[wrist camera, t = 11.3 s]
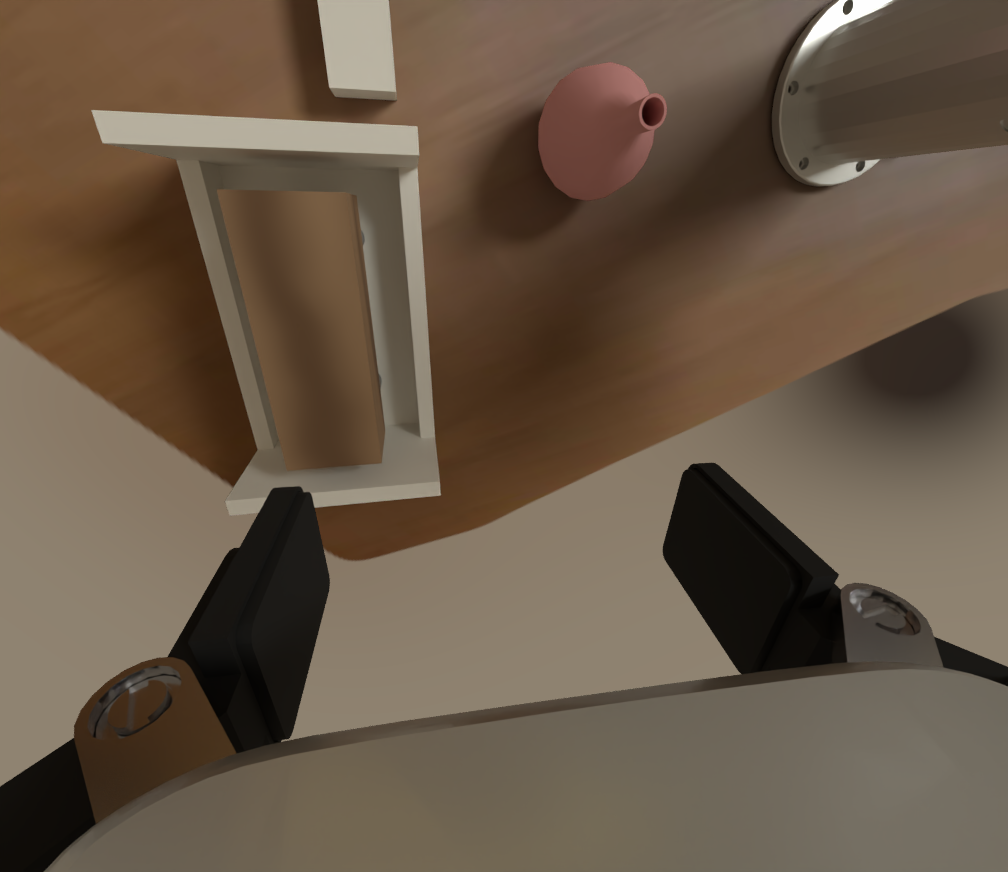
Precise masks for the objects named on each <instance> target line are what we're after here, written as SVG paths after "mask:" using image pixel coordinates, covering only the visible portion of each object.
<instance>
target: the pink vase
mask: <svg viewBox="0 0 1008 872" xmlns="http://www.w3.org/2000/svg"><path fill="white" fill-rule="evenodd" d="M666 113H667V105H666V102H665V99H664V98H663V97H662V96H661V95H660V94H657V93H653V94H649V92H648V90H647V88H646V86H645V84H644V82H643V80H642V79H641V78H640V77H638V76H637V75H636V74H635V73H634V72H633V71H632V70H631V69H630V68H629V67H625V66H622V65H618V64H615V63H612V62H609V63H603V64H598V65H592V66H587V67H582V68H577V69H576V70H574V71H573V72H572V73H570V74H569V75H567V76H566V77H564V78H563V79H562V80H560V81H559V83H558V84H557V85H556V87H555V88H554V90H553V91H552V93H551V94H550V95H549V97H548V98H547V100H546V102H545V106H544V109H543V112H542V115H541V118H540V122H539V137H538V149H539V153H540V157H541V160H542V164H543V168H544V170H545V172H546V173H547V175H548V176H549V178H550V179H551V181H552V182H553V184H554V185H555V187H557V188H558V189H559V190H561V191H562V192H564V193H565V194H566V195H568V196H569V197H571V198H575V199H580V200H585V201H591V200H595V199H600V198H605V197H607V196H608V195H610V194H611V193H613V192H615V191H616V190H618V189H619V188H621V187H622V186H624V185H625V184H627V183H628V182H630V181H631V180H632V179H633V178H634V177H635V176H636V174H637V173H638V172H639V171H640V169H641V168H642V167H643V165H644V164H645V162H646V159H647V157H648V155H649V152H650V150H651V147H652V145H653V139H654V131H655V129H656V128H658V127H659V126H660V125H661V124H662V123H663V122H664V119H665V117H666Z"/></svg>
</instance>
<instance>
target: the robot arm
mask: <svg viewBox="0 0 1008 872" xmlns="http://www.w3.org/2000/svg"><path fill="white" fill-rule="evenodd" d="M772 135H773V141H774V147H775V150H776V153H777V155H778V158H779V161H780V162H781V164H782V165H783V167H784V168H785V170H786V171H787V172H788V173H789V174H790V175H791V176H792V177H793V178H794V179H795V180H797V181H799V182H801V183H803V184H805V185H811V186H817V187H819V186H833V185H838V184H843V183H846V182H848V181H850V180H852V179H855V178H857V177H858V176H860V175H862V174H863V173H865V172H866V171H868V170H869V169H870V168H872V167H873V166H874V165H875V164H876V163H877V162H878V161H879V160H881V159H886V158H895V157H903V156H912V155H921V154H930V153H939V152H948V151H956V150H965V149H974V148H983V147H992V146H1001V145H1008V0H834V1H833V2H831V3H830V4H829V5H827V6H826V7H825V8H824V9H823V10H821V11H820V12H819V13H818V14H817V15H816V16H815V17H814V18H813V19H812V20H811V22H810V23H809V24H808V25H807V27H806V28H805V29H804V31H803V32H802V33H801V35H800V36H799V37H798V39H797V41H796V43H795V44H794V46H793V48H792V50H791V51H790V53H789V55H788V57H787V59H786V62H785V64H784V67H783V69H782V72H781V74H780V77H779V80H778V84H777V88H776V91H775V95H774V102H773V110H772ZM663 556H664V559H665V560H666V562H667V564H668V565H669V567H670V568H671V570H672V571H673V573H674V574H675V576H676V578H677V579H678V580H679V582H680V584H681V585H682V587H683V588H684V590H685V591H686V593H687V594H688V596H689V597H690V599H691V600H692V602H693V603H694V605H695V606H696V608H697V609H698V611H699V612H700V614H701V615H702V617H703V618H704V620H705V621H706V623H707V624H708V626H709V627H710V629H711V630H712V632H713V633H714V635H715V637H716V638H717V640H718V641H719V642H720V644H721V646H722V647H723V649H724V650H725V652H726V653H727V655H728V656H729V658H730V659H731V661H732V662H733V664H734V665H735V667H736V668H737V670H738V671H739V672H740V673H741V675H733V676H726V677H718V678H711V679H703V680H695V681H688V682H680V683H672V684H665V685H658V686H651V687H643V688H635V689H628V690H621V691H613V692H606V693H599V694H592V695H584V696H578V697H570V698H563V699H555V700H548V701H541V702H534V703H526V704H520V705H512V706H506V707H498V708H492V709H485V710H477V711H471V712H463V713H457V714H450V715H443V716H436V717H429V718H422V719H415V720H408V721H401V722H395V723H389V724H382V725H376V726H369V727H364V728H357V729H351V730H345V731H338V732H332V733H326V734H320V735H313V736H308V737H304V738H299V739H294V740H290V741H284V742H281V740H284V739H289V738H290V736H291V734H292V732H293V729H294V725H295V721H296V717H297V713H298V709H299V705H300V701H301V698H302V694H303V690H304V685H305V682H306V678H307V674H308V670H309V666H310V663H311V659H312V655H313V651H314V647H315V643H316V639H317V635H318V631H319V627H320V623H321V619H322V615H323V612H324V608H325V604H326V600H327V596H328V592H329V586H330V585H329V584H330V579H329V573H328V568H327V563H326V559H325V555H324V549H323V545H322V540H321V535H320V531H319V526H318V521H317V517H316V512H315V508H314V503H313V498H312V495H311V493H310V492H303V489H302V488H301V487H300V486H294V487H277V488H273V489H272V490H271V491H270V493H269V495H268V497H267V499H266V500H265V502H264V504H263V506H262V508H261V510H260V511H259V513H258V515H257V517H256V519H255V521H254V523H253V524H252V526H251V528H250V530H249V531H248V533H247V535H246V537H245V539H244V541H243V543H242V544H241V546H240V548H233V549H232V550H230V551H229V552H228V554H227V555H226V556H225V558H224V560H223V561H222V563H221V565H220V567H219V568H218V570H217V572H216V574H215V575H214V577H213V579H212V580H211V582H210V584H209V586H208V587H207V589H206V591H205V593H204V595H203V596H202V598H201V600H200V601H199V603H198V605H197V607H196V608H195V610H194V612H193V613H192V616H191V617H190V619H189V620H188V622H187V624H186V626H185V627H184V629H183V631H182V633H181V634H180V636H179V638H178V640H177V641H176V643H175V645H174V647H173V648H172V650H171V652H170V654H169V655H168V657H165V658H156V659H152V660H148V661H145V662H141V663H139V664H137V665H135V666H133V667H131V668H129V669H126V670H124V671H123V672H121V673H120V674H118V675H117V676H115V677H114V678H112V679H111V680H109V681H108V682H107V683H105V684H104V685H103V686H102V687H101V688H100V689H99V690H98V691H97V692H96V693H94V694H93V695H92V697H91V698H90V699H89V700H88V702H87V703H86V704H85V706H84V707H83V708H82V710H81V711H80V714H79V716H78V718H77V721H76V723H75V725H74V738H73V739H72V740H70V741H69V742H67V743H65V744H64V745H62V746H61V747H59V748H58V749H56V750H55V751H53V752H52V753H50V754H49V755H47V756H46V757H44V758H43V759H41V760H40V761H38V762H37V763H35V764H34V765H32V766H31V767H29V768H28V769H26V770H25V771H23V772H22V773H20V774H19V775H17V776H16V777H14V778H13V779H11V780H10V781H8V782H6V783H5V784H4V785H2V786H1V787H0V872H1008V667H1007V666H1004V665H1002V664H999V663H997V662H994V661H992V660H990V659H987V658H984V657H982V656H980V655H977V654H975V653H972V652H970V651H968V650H965V649H962V648H960V647H958V646H955V645H953V644H950V643H948V642H946V641H943V640H941V639H938V638H936V637H934V636H933V633H932V629H931V627H930V625H929V623H928V621H927V619H926V618H925V617H924V616H923V615H922V614H921V613H920V612H919V611H918V610H917V609H916V608H915V607H914V606H912V605H911V604H910V603H909V602H907V601H906V600H904V599H903V598H901V597H899V596H897V595H895V594H894V593H892V592H890V591H887V590H885V589H882V588H880V587H876V586H873V585H869V584H863V583H852V584H847V585H846V586H845V587H843V588H842V589H839V588H838V587H837V586H836V585H835V584H834V583H835V581H836V579H837V578H838V575H839V574H838V573H837V572H835V571H834V570H833V569H832V568H831V567H830V566H829V565H828V564H827V563H825V562H824V561H823V560H822V559H821V558H820V557H819V556H818V555H817V554H815V553H814V552H813V551H812V550H811V549H810V548H809V547H808V546H807V545H805V543H803V542H802V541H801V540H800V539H799V538H798V537H797V536H796V535H794V533H792V532H791V531H790V530H789V529H788V528H787V527H786V526H785V525H784V524H783V523H781V522H780V521H779V520H778V519H777V518H776V517H775V516H774V515H773V514H771V513H770V512H769V511H768V510H767V509H766V508H765V507H764V506H763V505H762V504H760V503H759V502H758V501H757V500H756V499H755V498H754V497H753V496H752V495H751V494H749V493H748V492H747V491H746V490H745V489H744V488H743V487H741V485H740V484H738V483H737V482H736V481H735V480H734V479H733V478H732V477H731V476H730V475H728V474H727V473H726V472H725V471H724V470H723V469H722V468H721V467H720V466H719V465H717V464H715V463H699V464H692V465H690V467H689V468H688V470H685V471H684V472H683V474H682V478H681V481H680V485H679V489H678V493H677V497H676V500H675V504H674V507H673V511H672V515H671V519H670V522H669V526H668V530H667V533H666V537H665V541H664V545H663Z"/></svg>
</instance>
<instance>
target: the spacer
mask: <svg viewBox="0 0 1008 872" xmlns="http://www.w3.org/2000/svg"><path fill="white" fill-rule="evenodd" d="M317 1H318V9H319V16H320V23H321V31H322V38H323V45H324V53H325V60H326V68H327V75H328V82H329V88H330V90H331V91H332V93H333V94H334V96H335V97H345V98H361V99H378V100H395V101H397V97H396V84H395V72H394V59H393V46H392V34H391V21H390V9H389V0H317Z"/></svg>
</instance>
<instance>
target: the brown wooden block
mask: <svg viewBox="0 0 1008 872" xmlns="http://www.w3.org/2000/svg"><path fill="white" fill-rule="evenodd" d="M216 190H217V194H218V198H219V202H220V206H221V210H222V214H223V218H224V222H225V226H226V230H227V234H228V238H229V242H230V245H231V249H232V253H233V257H234V261H235V265H236V269H237V273H238V277H239V281H240V285H241V289H242V293H243V297H244V301H245V305H246V309H247V313H248V317H249V321H250V325H251V329H252V333H253V337H254V341H255V345H256V349H257V353H258V357H259V361H260V365H261V369H262V373H263V377H264V381H265V385H266V389H267V393H268V397H269V401H270V405H271V409H272V413H273V417H274V421H275V425H276V429H277V433H278V437H279V441H280V445H281V449H282V453H283V457H284V461H285V465H286V469H287V471H293V470H305V469H317V468H330V467H342V466H354V465H367V464H379V463H382V456H383V447H384V439H385V423H384V415H383V407H382V399H381V391H380V383H379V374H378V366H377V358H376V350H375V342H374V334H373V325H372V317H371V309H370V301H369V293H368V285H367V276H366V268H365V260H364V252H363V244H362V236H361V227H360V219H359V211H358V203H357V196H356V195H353V194H350V193H346V192H310V191H269V190H228V189H216Z"/></svg>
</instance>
